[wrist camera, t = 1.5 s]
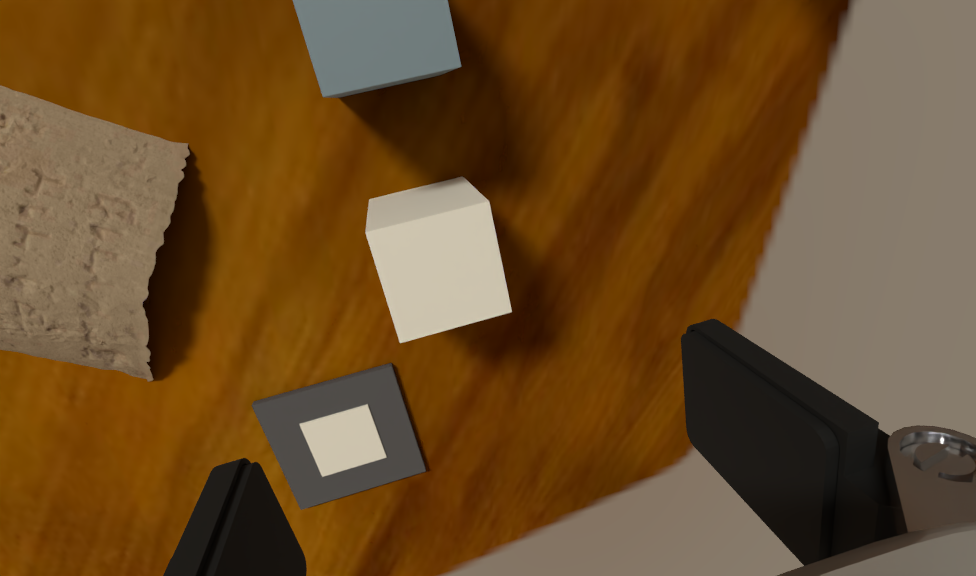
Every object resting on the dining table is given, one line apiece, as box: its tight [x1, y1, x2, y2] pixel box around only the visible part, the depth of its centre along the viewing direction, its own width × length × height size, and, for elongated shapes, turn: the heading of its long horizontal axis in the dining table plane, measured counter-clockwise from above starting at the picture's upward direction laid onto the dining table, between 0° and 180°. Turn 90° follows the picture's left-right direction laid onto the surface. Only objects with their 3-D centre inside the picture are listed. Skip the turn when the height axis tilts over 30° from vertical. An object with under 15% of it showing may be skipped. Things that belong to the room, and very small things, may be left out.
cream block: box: [365, 177, 512, 343], centre depth 24 cm, size 5×5×7 cm
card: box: [252, 363, 426, 510], centre depth 30 cm, size 8×8×1 cm
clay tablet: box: [0, 86, 190, 381], centre depth 23 cm, size 14×10×3 cm
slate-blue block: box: [293, 0, 461, 98], centre depth 20 cm, size 5×5×7 cm
